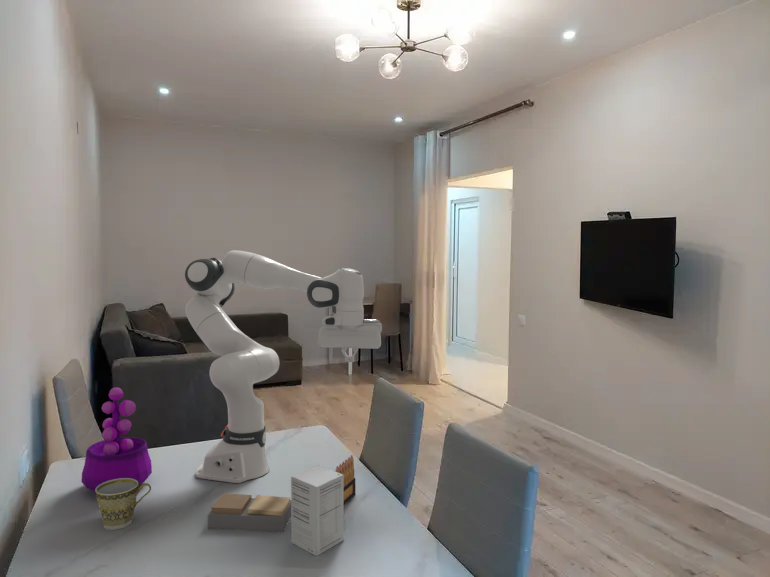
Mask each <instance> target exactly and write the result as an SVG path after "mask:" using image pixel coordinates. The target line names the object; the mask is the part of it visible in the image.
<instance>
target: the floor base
mask: <svg viewBox="0 0 770 577" xmlns="http://www.w3.org/2000/svg"><path fill="white" fill-rule="evenodd" d="M255 498H256V497H253V496H252V494H243V493H242V494H241V493H240V494H239V493H222V494H221V495H220V496H219V497H218V499H217V500H216V501H215V502H214V503H213V505H212V506H210V509H211V510H210V511H209V512H208V514H207V528H208V529H217V530H218V529H219V530H220V529H221V530H242V531H260V532H262V531H263V532H280V533H281V532H282V533H283V532H284V531H285V530H286V528H287V526H288V524H287V523H289V522H288V521H290V520H291V499H290V503H289V504H288V506H287V508H286V510H285V512H284V514H283V516H277V515H265V514H252V513H248V508H249V507H250V505H251V504H252V502H253V501H254V499H255Z"/></svg>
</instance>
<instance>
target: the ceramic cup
mask: <svg viewBox="0 0 770 577" xmlns="http://www.w3.org/2000/svg"><path fill="white" fill-rule="evenodd" d="M138 484H139V483H138V481H137V480H135V479H131V478H119V479H113V480H109V481H106V482H104V483H102V484H100V485H98V486H97V487H96V489H95V496H96V501H97V504H98V507H99V511H100V515H101V520H102V523H103V524H102V525H103V528H104V529H106V530H110V531H115V530H120V529H125V528H126V527H128V526H130V525H131V524H132V523H133V517H134V513H135V508H137V506H138V504H140V503H141V501H142V500H143V499H144V498H145V497H146V496H147V495H148V494H150V492H151V491H152V487H151V484H149V483H148V482H147V483H146V482H144V483H142V484H140V485H138ZM145 487H148V488H149V489H148V491H147V492H146V493H145V494H144V495H142V496H141V497H140V499H139V500H137V496H138V494H139V492H140V490H141V489H142V488H145ZM136 500H137V501H136Z"/></svg>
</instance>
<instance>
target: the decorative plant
mask: <svg viewBox="0 0 770 577" xmlns="http://www.w3.org/2000/svg"><path fill="white" fill-rule="evenodd" d="M108 397H109V400H108V401H106V402H104V403H103V404H102V406H101V411H102V412H103V413H105V414H106V415H110V414H111V413H112V415H111V416H112V417H107V418H105V419H104V420H103V422H102V425H101V426H102V428H103V431H102V433H101V435H102V438H103V440H101V441H100V440H99V441H97V442H95V443H93V444H91V445H89V447H88V448H86V451H85V452H86V453H85V458H84V460H85V461H84V466H83V468H82V472H81V483H82V484H83V485H84V486H85V488H86V489H88V490H89V491H91V492H95V489H96V487H97V486H98V485H100V484H102V483H104V482H106V481H109V480H113V479H119V478H131V479H135V480H137V481H138V483H139V484H138V486H140V485H141V484H144V483H146V482H145V481H147V479H148V478H149V477H150V475H151V474H152V473H153V471H152V469H153V468H152V467H153V466H152V459H151V455H150V454H149V449H148V444H147V441H146V440H145V439H143V438H140V437H135V436H134V437H132V436H123V435H127V434H128V433H129V431H130V430H131V427H132V422H131V421H130V420H129V419H127V418H121V416H123V417H130V416H131V415H133V414H134V413H135V411H136V410H137V406H136V403H135V402H134V401H133V400H129V399H125V400H122V402H120V403H118V401H119V400H121V399H122V398H123V397H124V392H123V389H122V388H120V387H112V388H111V389H110V390H109V393H108ZM110 400H111V401H110ZM113 401H114V402H113ZM121 435H122V436H121ZM95 493H96V492H95Z"/></svg>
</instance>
